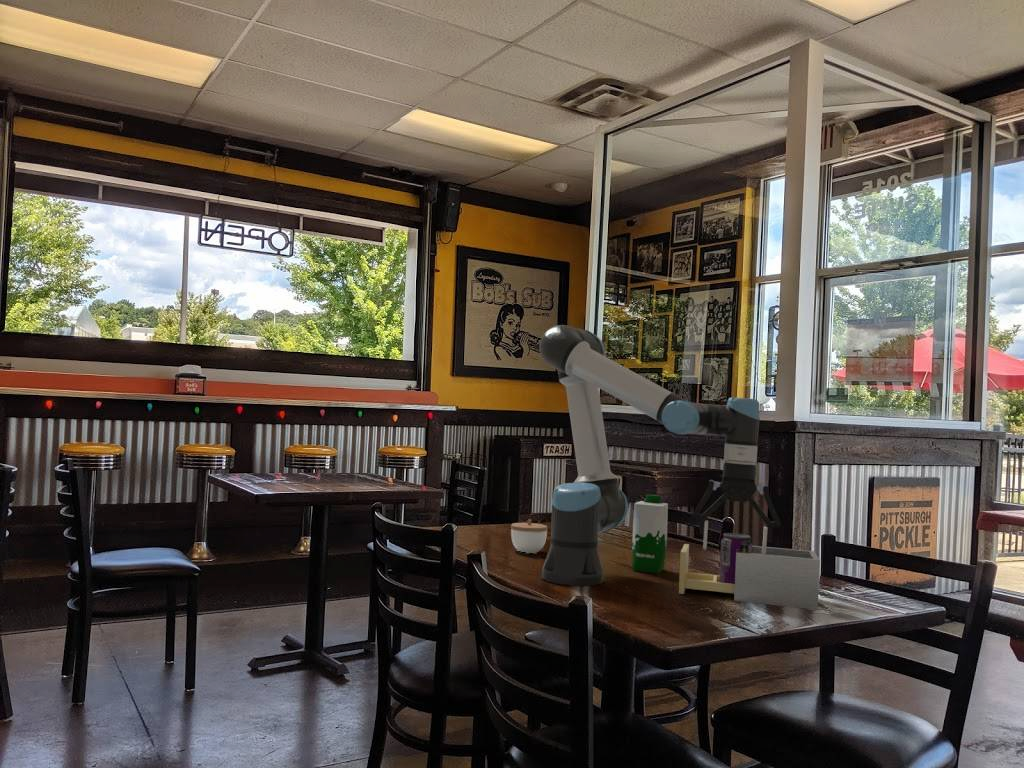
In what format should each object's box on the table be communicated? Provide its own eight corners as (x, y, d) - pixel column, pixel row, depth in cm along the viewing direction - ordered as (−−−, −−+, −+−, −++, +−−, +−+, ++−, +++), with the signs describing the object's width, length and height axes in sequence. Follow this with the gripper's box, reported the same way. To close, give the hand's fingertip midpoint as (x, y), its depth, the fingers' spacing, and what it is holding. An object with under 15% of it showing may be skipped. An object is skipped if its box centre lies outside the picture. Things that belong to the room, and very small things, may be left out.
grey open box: (734, 600, 185) (736, 552, 186) (734, 589, 198) (736, 544, 199) (817, 609, 180) (819, 560, 181) (812, 597, 194) (814, 551, 194)
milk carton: (667, 569, 221) (670, 495, 221) (660, 574, 212) (664, 498, 213) (635, 565, 224) (639, 493, 225) (628, 570, 216) (631, 495, 216)
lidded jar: (507, 548, 242) (509, 516, 243) (543, 549, 243) (544, 518, 244) (511, 554, 232) (513, 521, 232) (548, 555, 233) (550, 522, 233)
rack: (678, 593, 189) (680, 551, 189) (682, 582, 202) (684, 543, 202) (759, 602, 184) (761, 559, 184) (757, 590, 197) (759, 550, 197)
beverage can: (751, 590, 188) (753, 538, 188) (720, 587, 189) (722, 535, 190) (748, 584, 195) (750, 534, 195) (718, 581, 196) (720, 531, 196)
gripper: (685, 458, 193) (679, 547, 192) (796, 468, 186) (790, 560, 185) (687, 457, 200) (681, 543, 199) (794, 466, 193) (788, 555, 193)
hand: (733, 552), depth 192 cm, fingers open, 13 cm apart
